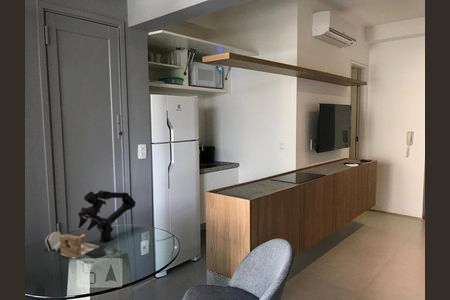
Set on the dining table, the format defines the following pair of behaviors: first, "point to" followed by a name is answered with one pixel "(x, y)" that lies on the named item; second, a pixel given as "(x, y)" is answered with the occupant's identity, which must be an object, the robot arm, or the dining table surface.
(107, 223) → the robot arm
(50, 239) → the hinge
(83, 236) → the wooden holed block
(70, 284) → the dining table surface
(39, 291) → the dining table surface
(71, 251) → the bearing stand
